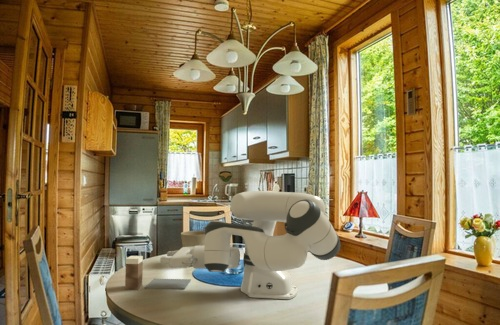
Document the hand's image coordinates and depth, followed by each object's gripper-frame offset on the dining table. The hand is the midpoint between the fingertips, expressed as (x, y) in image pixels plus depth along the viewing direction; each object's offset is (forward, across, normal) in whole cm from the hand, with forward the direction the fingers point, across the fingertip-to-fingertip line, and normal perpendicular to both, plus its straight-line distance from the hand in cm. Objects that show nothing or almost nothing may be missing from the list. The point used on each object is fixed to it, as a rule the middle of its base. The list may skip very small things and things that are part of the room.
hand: (164, 256), depth 132 cm
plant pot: (-5, +39, -13) cm, 42 cm away
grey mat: (0, +6, -13) cm, 14 cm away
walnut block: (+12, +2, -13) cm, 18 cm away
